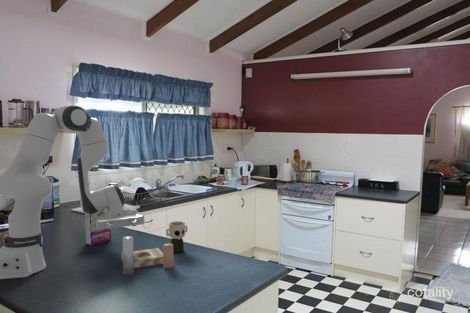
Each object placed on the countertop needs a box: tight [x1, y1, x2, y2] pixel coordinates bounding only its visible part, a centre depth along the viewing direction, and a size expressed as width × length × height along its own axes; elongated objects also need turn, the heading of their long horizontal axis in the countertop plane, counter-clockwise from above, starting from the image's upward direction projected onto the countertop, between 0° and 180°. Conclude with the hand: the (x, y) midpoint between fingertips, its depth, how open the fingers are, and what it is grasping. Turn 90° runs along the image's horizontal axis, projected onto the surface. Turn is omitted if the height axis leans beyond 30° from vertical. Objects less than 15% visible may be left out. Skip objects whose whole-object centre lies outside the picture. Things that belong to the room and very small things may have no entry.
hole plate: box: [120, 247, 163, 269], centre depth 163 cm, size 16×12×3 cm
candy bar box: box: [84, 209, 112, 246], centre depth 189 cm, size 11×5×16 cm, turn 143°
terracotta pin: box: [162, 243, 174, 269], centre depth 157 cm, size 4×4×9 cm
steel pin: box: [121, 235, 135, 276], centre depth 150 cm, size 4×4×14 cm
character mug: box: [165, 220, 188, 253], centre depth 176 cm, size 11×7×13 cm, turn 129°
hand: (123, 225), depth 161 cm, fingers open, 8 cm apart
